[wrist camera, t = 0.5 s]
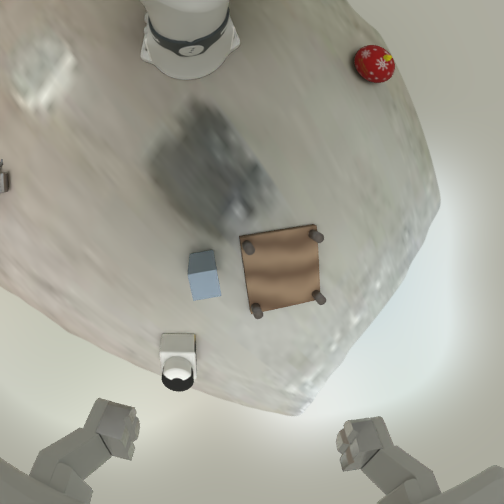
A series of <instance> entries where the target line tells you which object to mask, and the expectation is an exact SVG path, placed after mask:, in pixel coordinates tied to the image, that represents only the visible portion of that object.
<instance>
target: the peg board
mask: <svg viewBox="0 0 504 504" xmlns="http://www.w3.org/2000/svg"><path fill="white" fill-rule="evenodd" d="M239 238H240V245H241V252H242V259H243V266H244V273H245V279H246V286H247V293H248V300H249V307H250V312H251V314H253V315H254V317H255V318H256V319H260V318H262V317H263V312H264V311H269V310H273V309H278V308H283V307H287V306H292V305H296V304H301V303H305V302H310V301H314V300H316V301H317V303H318V304H319V305H323V304H324V303H325V302H326V298H325V297H324V296H323V295H322V294H321V293H320V279H319V257H318V243H321V242H322V241H323V240H324V236H323V234H321V233H319V232H318V231H317V226H316V225H314V224H312V225H306V226H299V227H293V228H287V229H280V230H274V231H268V232H262V233H256V234H250V235H244V236H239Z"/></svg>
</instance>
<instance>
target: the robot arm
mask: <svg viewBox="0 0 504 504" xmlns="http://www.w3.org/2000/svg"><path fill="white" fill-rule="evenodd" d="M139 1H141V2H142V3H143V5H144V7H145V8H146V10H147V12H146V13H145V22H146V23H147V26H146V27H145V28H144V34H145V35H144V40H143V45H142V50H141V59H142V60H143V61H145V62H148V63H151V64H154V65H155V66H156V67H157V68H158V69H159V70H160V71H161V72H163V73H164V74H166V75H168V76H170V77H173V78H176V79H183V80H189V79H197V78H201V77H204V76H206V75H208V74H210V73H212V72H213V71H215V70H216V69H217V68H218V67H220V65H221V64H222V63H223V62H224V60H225V59H226V57H227V56H228V54H229V53H231V52H232V51H234V50H235V49H237V48H238V47H239V46H240V39H239V36H238V34H237V32H236V29H235V27H234V24H233V22H232V20H231V17H230V15H229V7H228V5H229V0H139ZM233 38H234V39H233ZM146 50H147V51H146ZM135 415H136V410H135V407H131V406H127V405H122V404H119V403H115V402H111V401H108V400H105V399H101V398H98V399H97V400H96V401H95V403H94V405H93V407H92V410H91V412H90V414H89V416H88V418H87V421H86V423H85V425H84V428H78V429H77V430H75V431H73V432H72V433H70V434H69V435H67V436H65V437H64V438H62V439H60V440H58V441H57V442H55V443H53V444H51V445H50V446H48V447H46V448H45V449H43V450H41V451H40V452H39V454H38V456H37V458H36V461H35V463H34V465H33V467H32V470H31V472H30V474H29V476H28V475H27V474H25V473H23V472H22V471H20V470H18V469H17V468H15V467H14V466H12V465H11V464H9V463H7V462H6V461H4V460H3V459H1V458H0V504H90V501H91V497H92V493H93V490H92V488H91V487H90V486H89V485H88V484H87V483H86V482H85V481H84V479H85V478H87V477H88V476H89V475H90V474H91V473H93V472H94V471H95V470H96V469H98V468H99V467H100V466H101V465H102V464H104V463H105V462H106V461H107V460H108V459H110V458H111V455H112V456H116V457H120V458H123V459H127V460H132V457H133V453H134V449H135V447H134V444H133V442H134V441H135V440H137V438H138V435H139V429H140V423H139V419H138V418H137V417H136V416H135ZM336 445H337V450H338V451H339V452H340V453H341V454H342V456H341V457H340V462H341V466H342V470H343V471H350V470H357V469H361V470H362V471H363V472H364V473H365V474H366V476H368V477H369V479H370V480H371V481H372V482H373V483H375V484H376V485H377V486H378V487H379V488H380V489H381V490H382V491H383V492H384V493H385V494H386V496H385V497H383V498H382V499H381V500H379V501H378V502H377V504H504V468H502V467H500V466H497V465H494V466H491V467H489V468H487V469H486V470H484V471H482V472H481V473H479V474H477V475H476V476H474V477H472V478H470V479H468V480H467V481H465V482H463V483H461V484H459V485H457V486H455V487H453V488H451V489H449V490H447V491H445V492H443V493H441V491H440V489H439V486H438V484H437V481H436V479H435V476H434V474H433V471H431V470H430V469H429V468H427V467H426V466H424V465H423V464H422V463H420V462H419V461H417V460H416V459H415V458H413V457H412V456H411V455H409V454H408V453H406V452H405V451H404V450H402V449H401V448H399V447H398V446H394V445H393V442H392V440H391V437H390V435H389V432H388V430H387V427H386V425H385V423H384V420H383V418H382V417H379V416H378V417H372V418H364V419H357V420H348V421H346V422H345V424H344V429H342V430H341V431H339V433H338V435H337V439H336Z"/></svg>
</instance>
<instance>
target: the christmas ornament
mask: <svg viewBox="0 0 504 504" xmlns="http://www.w3.org/2000/svg"><path fill="white" fill-rule="evenodd" d="M355 67H356V69H357V71H358V73H359V74H360V75H361V76H362V77H363V78H364V79H366V80H368V81H370V82H374V83H381V82H385V81H387V80H388V79H390V78H391V77H392V75H393V73H394V70H395V63H394V60H393V58H392V56H391V55H390V53H389V52H388V51H386V50H385V49H384V48H382V47H379V46H376V45H368V46H364V47H362V48H361V49H360V50H359V51H358V52H357V53H356V55H355Z"/></svg>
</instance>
